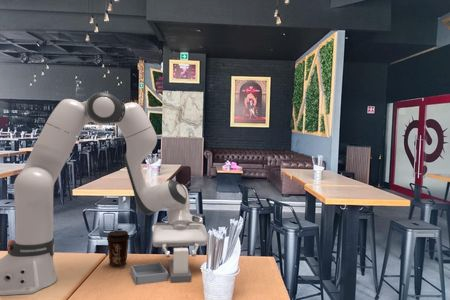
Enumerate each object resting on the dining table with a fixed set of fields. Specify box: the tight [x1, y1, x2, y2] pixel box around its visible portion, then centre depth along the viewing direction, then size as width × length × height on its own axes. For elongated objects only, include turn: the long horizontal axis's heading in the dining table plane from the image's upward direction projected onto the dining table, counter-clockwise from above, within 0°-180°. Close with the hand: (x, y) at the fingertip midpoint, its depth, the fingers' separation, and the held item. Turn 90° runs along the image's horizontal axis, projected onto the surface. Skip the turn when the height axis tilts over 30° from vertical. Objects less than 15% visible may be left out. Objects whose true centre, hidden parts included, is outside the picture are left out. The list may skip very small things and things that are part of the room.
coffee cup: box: [106, 229, 130, 270], centre depth 136 cm, size 9×8×13 cm
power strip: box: [168, 259, 192, 284], centre depth 130 cm, size 16×7×3 cm, turn 12°
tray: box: [130, 261, 169, 286], centre depth 126 cm, size 11×11×3 cm
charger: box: [172, 247, 189, 274], centre depth 126 cm, size 5×4×10 cm
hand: (180, 256), depth 126 cm, fingers open, 8 cm apart
